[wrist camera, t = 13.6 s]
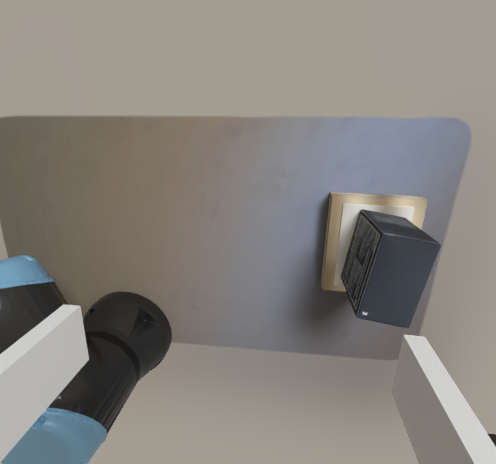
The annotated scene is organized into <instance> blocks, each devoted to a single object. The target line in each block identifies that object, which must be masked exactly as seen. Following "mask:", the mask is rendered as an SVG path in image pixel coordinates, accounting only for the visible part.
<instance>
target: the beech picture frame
mask: <svg viewBox="0 0 496 464" xmlns="http://www.w3.org/2000/svg"><path fill="white" fill-rule="evenodd" d="M426 205H427V200H426V199H424V198H422V197H420V196H402V195H380V194H357V193H334V192H330V200H329V209H328V219H327V229H326V238H325V248H324V258H323V267H322V277H321V285H322V290H331V291H344V292H347V291H346V289H345V286H344V284H343V282H342V279H341V274H342V271H343V267H344V264H345V260H346V257H347V253H348V250H349V247H350V243H351V240H352V237H353V233H354V230H355V227H356V223H357V220H358V217H359V214H360V210H362V209H364V210H369V211H374V212H379V213H385V214H390V215H395V216H399V217H404V218H406V219H407V220H409V221H410V222H411V223H413V224H414V225H415V226H417V227H418V228H419V229H421V230H422V225H423V220H424V215H425V210H426Z"/></svg>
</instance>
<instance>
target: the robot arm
mask: <svg viewBox="0 0 496 464" xmlns="http://www.w3.org/2000/svg"><path fill="white" fill-rule="evenodd" d="M55 282H56V281H55V280H54V279H53V278H51V277H50V276H49V275H48V273H47V272H46V270H45V269H44V268H43V266H42V265H41V264H40V262H39V261H38V260H37V259H36V258H34V257H32V256H28V255H19V256H15V257H11V258H8V259H4V260H1V261H0V462H2V463H3V464H87V463H88V462H89V461H90V459H91V458H92V456H93V455H94V453H95V452H96V450H97V449H98V448H99V446H100V445H101V444H102V443H103V442H104V441H105V439H106V436H107V433H108V432H109V430H110V428H111V426H112V425H113V423H114V421H115V420H116V418H117V416H118V414H119V413H120V411H121V409H122V408H123V406H124V404H125V402H126V401H127V399H128V397H129V396H130V394H131V392H132V391H133V389H134V387H135V385H136V383H137V382H138V381H139V380H140V379H141V378H142V377H143V376H144V375H145V374H147V373H148V372H149V371H150V370H152V369H153V368H155V367H156V366H157V365H158V364H159V363H160V362H161V361H162V360H163V358H164V357H165V355H166V353H167V351H168V349H169V347H170V344H171V338H172V334H171V328H170V325H169V322H168V320H167V318H166V316H165V315H164V313H163V312H162V311H161V310H160V308H159V307H158V306H156V305H155V304H154V303H153V302H151V301H150V300H148V299H147V298H145V297H143V296H140V295H138V294H134V293H130V292H115V293H111V294H108V295H105V296H104V297H102V298H101V299H99V300H98V301H97V302H96V303H95V304H94V305H93V306H92V307H91V308H90V309H89V310H88V312H87V313H86V315H85V317H84V319H82V312H81V306H76V305H68V303H67V302H66V300H65V298H64V297H63V295H62V294H61V292H60V290H59V289H58V287H57V286H56V284H55ZM392 394H393V397H394V399H395V402H396V405H397V407H398V410H399V412H400V415H401V418H402V420H403V423H404V425H405V428H406V430H407V433H408V436H409V438H410V441H411V443H412V446H413V448H414V451H415V454H416V457H417V459H418V462H419V464H496V435H495V434H487V432H486V431H485V429H484V428H483V426H482V425H481V423H480V422H479V420H478V419H477V417H476V416H475V414H474V412H473V411H472V409H471V408H470V406H469V405H468V403H467V401H466V400H465V398H464V397H463V395H462V394H461V392H460V391H459V389H458V388H457V386H456V384H455V383H454V381H453V380H452V378H451V377H450V375H449V374H448V372H447V370H446V369H445V367H444V366H443V364H442V363H441V361H440V360H439V358H438V357H437V355H436V353H435V352H434V350H433V349H432V347H431V346H430V344H429V343H428V341H427V339H426V338H425V337H423V336H412V335H403V340H402V344H401V349H400V354H399V359H398V364H397V369H396V374H395V379H394V383H393V388H392Z"/></svg>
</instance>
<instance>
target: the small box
mask: <svg viewBox="0 0 496 464" xmlns="http://www.w3.org/2000/svg"><path fill="white" fill-rule="evenodd" d="M440 248H441V244H440V243H439V242H437V241H436V240H434V239H433V238H432V237H430V236H429V235H427V234H426V233H425V232H423V231H422V230H421V229H419V228H418V227H417V226H415V225H414V224H413V223H411V222H410V221H409V220H407V219H406V218H404V217H399V216H395V215H390V214H385V213H379V212H374V211H369V210H364V209H362V210H360V214H359V217H358V220H357V223H356V227H355V230H354V233H353V237H352V240H351V243H350V247H349V250H348V253H347V257H346V260H345V264H344V267H343V271H342V274H341V279H342V282H343V284H344V286H345V289H346V291H347V294H348V297H349V300H350V302H351V305H352V307H353V310H354V312H355V315H356V318H358V319H363V320H368V321H373V322H378V323H383V324H388V325H392V326H397V327H402V328H409V327H410V324H411V322H412V319H413V317H414V314H415V311H416V309H417V306H418V304H419V301H420V298H421V296H422V293H423V291H424V288H425V286H426V283H427V281H428V278H429V275H430V273H431V270H432V268H433V265H434V263H435V260H436V258H437V255H438V253H439V250H440Z"/></svg>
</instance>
